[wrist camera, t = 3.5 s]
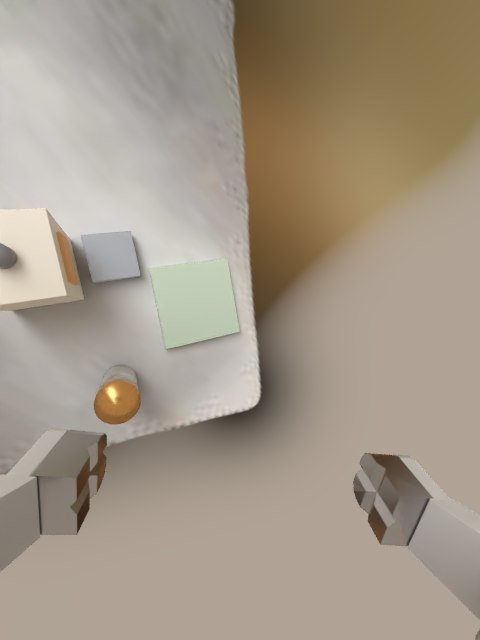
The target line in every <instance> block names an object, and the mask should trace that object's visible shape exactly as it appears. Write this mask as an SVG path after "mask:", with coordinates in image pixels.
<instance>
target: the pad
mask: <svg viewBox="0 0 480 640" xmlns="http://www.w3.org/2000/svg"><path fill="white" fill-rule="evenodd" d="M149 272H150V277H151V282H152V287H153V292H154V296H155V301H156V306H157V311H158V316H159V321H160V326H161V330H162V335H163V340H164V345H165V349H169V348H174V347H178V346H182V345H186V344H190V343H195V342H199V341H203V340H207V339H211V338H216V337H220V336H224V335H228V334H232V333H237V332H240V330H239V324H238V319H237V313H236V307H235V301H234V295H233V290H232V284H231V278H230V272H229V266H228V261H227V259H219V260H210V261H202V262H194V263H185V264H177V265H169V266H161V267H152V268H149Z"/></svg>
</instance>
